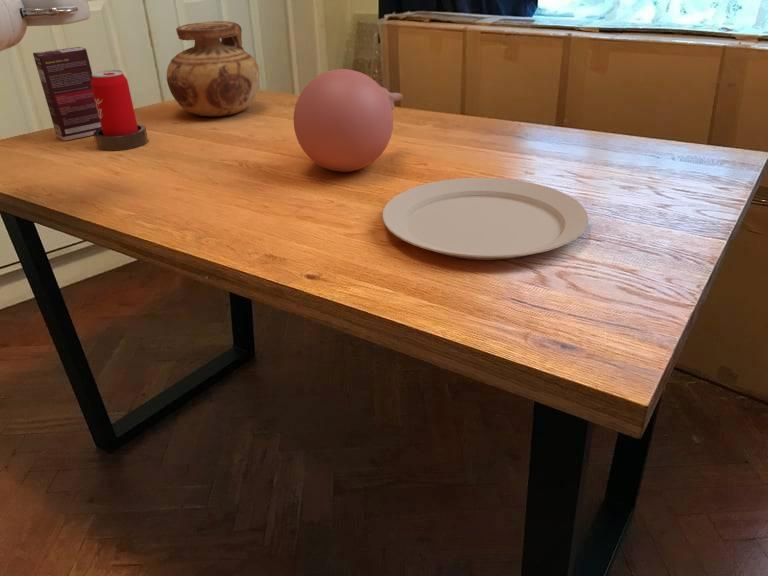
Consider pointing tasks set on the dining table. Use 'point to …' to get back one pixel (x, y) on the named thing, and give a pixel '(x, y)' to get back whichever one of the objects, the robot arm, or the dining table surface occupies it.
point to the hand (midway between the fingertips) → (30, 3)
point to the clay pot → (213, 70)
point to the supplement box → (68, 91)
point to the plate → (485, 218)
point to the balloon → (344, 119)
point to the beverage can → (113, 103)
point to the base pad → (121, 140)
